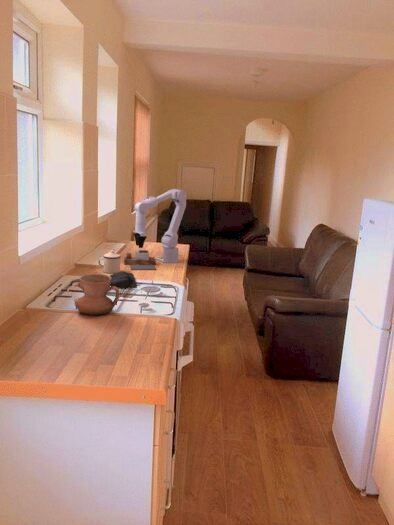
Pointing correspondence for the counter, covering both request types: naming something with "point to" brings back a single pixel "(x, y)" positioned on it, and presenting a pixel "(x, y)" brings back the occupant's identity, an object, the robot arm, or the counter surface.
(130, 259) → the body
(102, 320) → the counter surface
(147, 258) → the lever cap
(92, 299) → the ceramic jug
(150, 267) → the rubber mat
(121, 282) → the dark slate chunk
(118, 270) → the teacup with lid
